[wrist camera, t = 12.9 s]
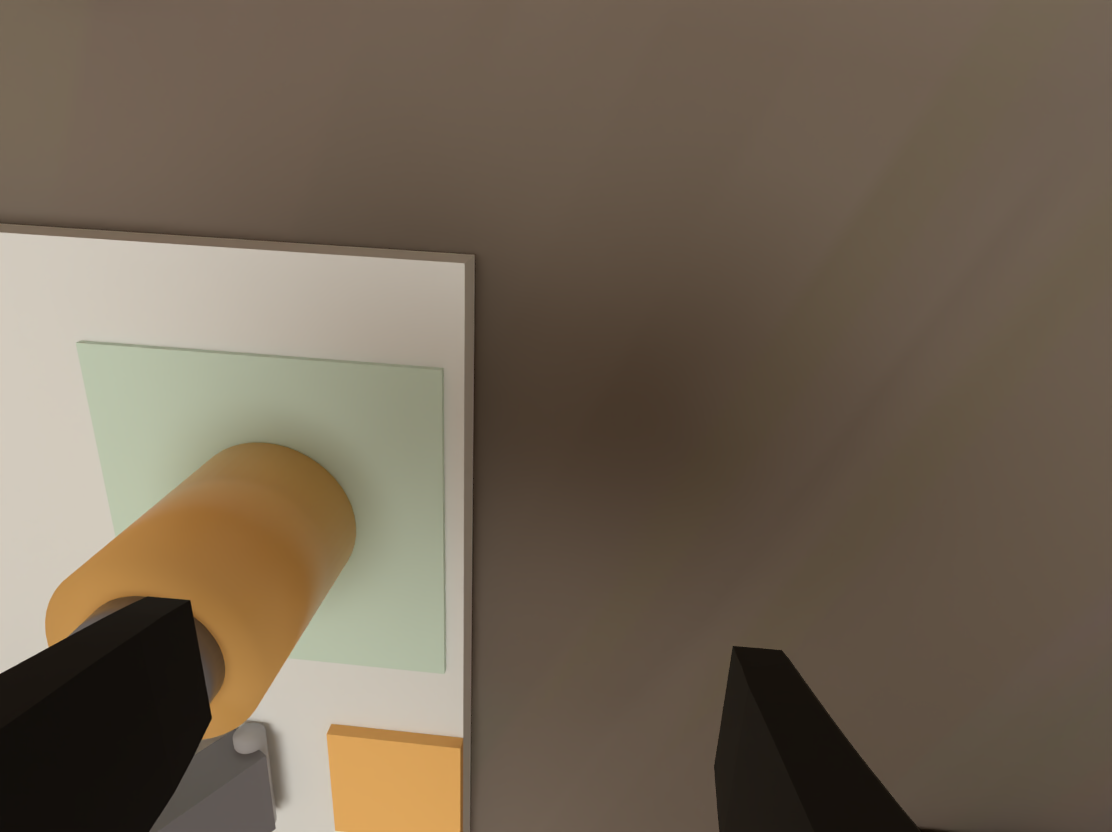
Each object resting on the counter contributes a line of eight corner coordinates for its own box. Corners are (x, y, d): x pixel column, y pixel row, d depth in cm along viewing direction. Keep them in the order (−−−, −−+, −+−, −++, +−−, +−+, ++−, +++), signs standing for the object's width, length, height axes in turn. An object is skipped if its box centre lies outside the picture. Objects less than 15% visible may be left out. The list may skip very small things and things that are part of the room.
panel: (469, 843, 25) (460, 889, 23) (26, 792, 26) (-11, 832, 24) (474, 254, 17) (461, 267, 16) (-151, 213, 18) (-220, 220, 17)
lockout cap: (361, 595, 20) (259, 783, 14) (204, 582, 20) (43, 761, 14) (349, 449, 18) (228, 597, 12) (178, 436, 18) (-15, 575, 13)
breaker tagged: (290, 826, 23) (117, 965, 19) (258, 796, 24) (87, 923, 20) (279, 739, 21) (90, 869, 17) (246, 711, 22) (60, 829, 18)
